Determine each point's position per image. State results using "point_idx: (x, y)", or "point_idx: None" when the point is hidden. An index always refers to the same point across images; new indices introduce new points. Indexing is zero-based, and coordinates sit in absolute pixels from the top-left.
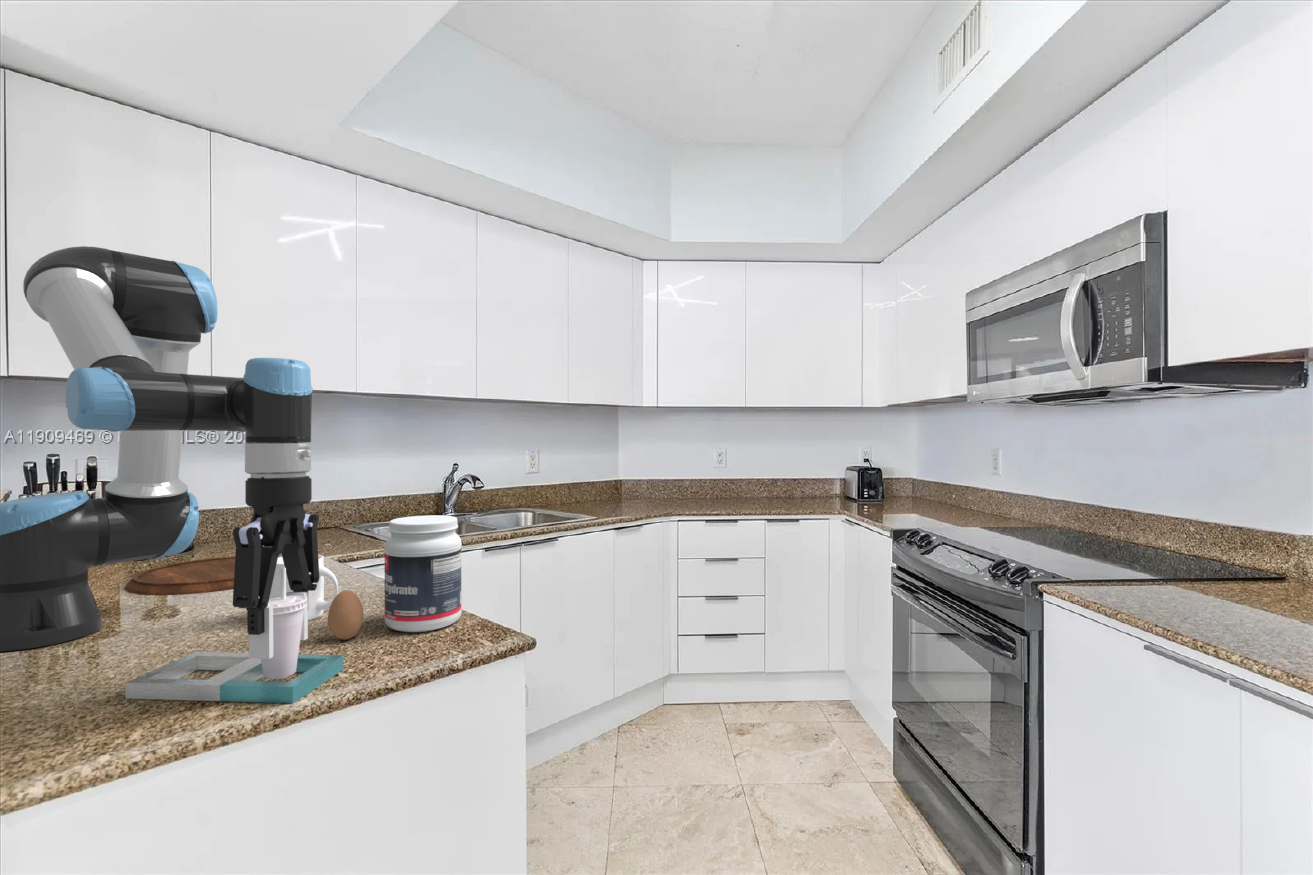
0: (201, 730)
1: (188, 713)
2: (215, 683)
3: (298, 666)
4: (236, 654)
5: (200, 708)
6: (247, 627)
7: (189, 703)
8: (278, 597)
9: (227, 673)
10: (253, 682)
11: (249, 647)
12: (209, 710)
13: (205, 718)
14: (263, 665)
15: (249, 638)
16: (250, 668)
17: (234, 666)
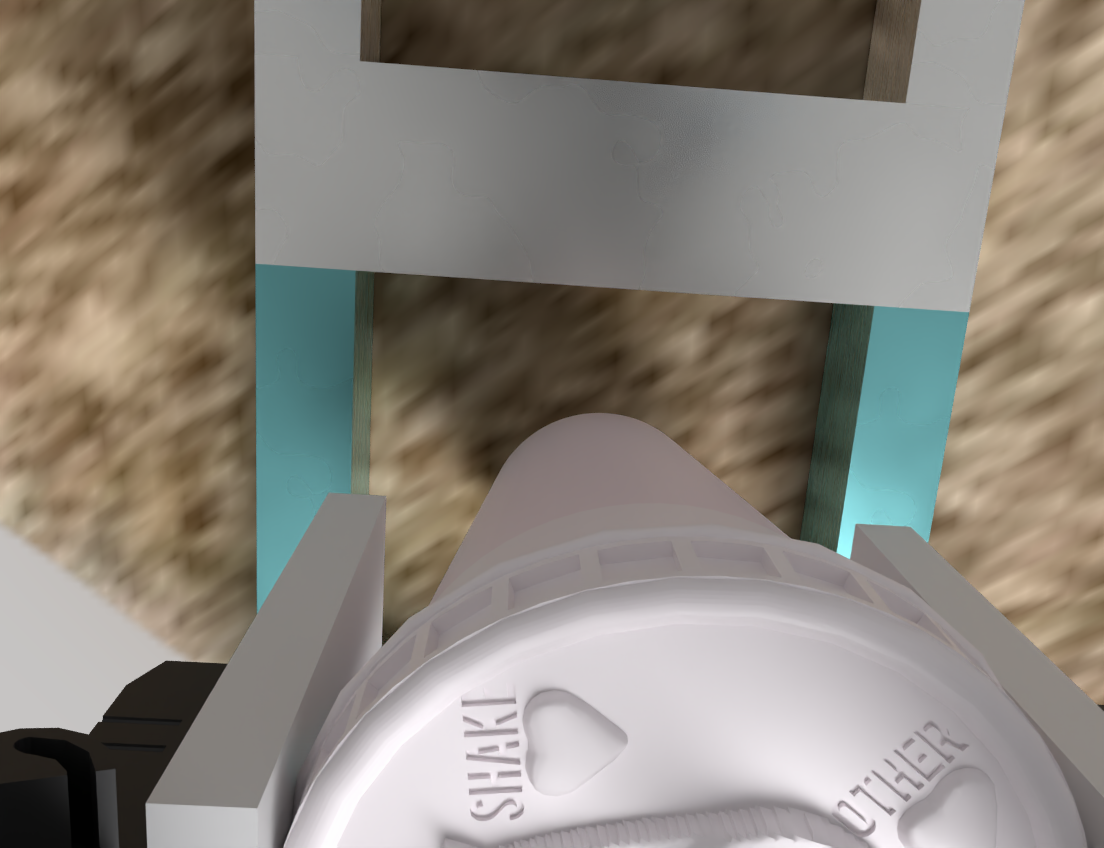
0: None
1: (84, 164)
2: (287, 202)
3: (818, 515)
4: None
5: (168, 192)
6: (104, 714)
7: (241, 40)
8: (944, 815)
9: (503, 153)
10: (323, 495)
11: (303, 538)
12: (144, 281)
13: (28, 341)
14: (490, 489)
15: (280, 578)
16: (615, 282)
17: (667, 102)
